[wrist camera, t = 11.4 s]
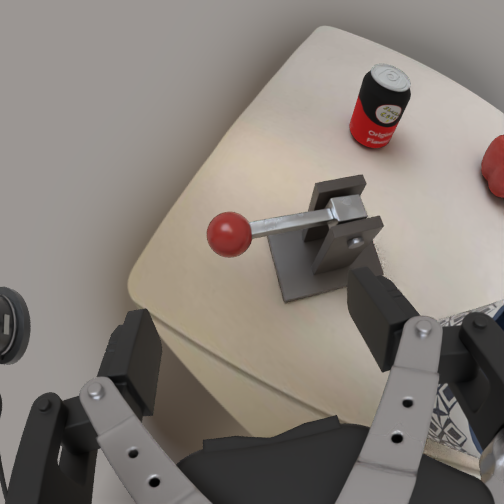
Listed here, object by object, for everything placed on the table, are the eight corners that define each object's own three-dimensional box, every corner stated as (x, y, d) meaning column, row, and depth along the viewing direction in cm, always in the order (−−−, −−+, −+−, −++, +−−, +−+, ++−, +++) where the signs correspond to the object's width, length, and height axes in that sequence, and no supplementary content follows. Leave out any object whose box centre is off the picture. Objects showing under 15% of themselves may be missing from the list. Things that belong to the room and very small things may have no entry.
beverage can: (340, 134, 42) (357, 73, 31) (361, 113, 44) (380, 55, 32) (375, 159, 41) (403, 101, 29) (395, 136, 42) (422, 80, 31)
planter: (448, 459, 27) (515, 488, 14) (372, 393, 31) (432, 412, 18) (510, 362, 31) (583, 353, 17) (446, 291, 35) (517, 257, 21)
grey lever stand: (284, 302, 35) (294, 274, 23) (265, 229, 38) (264, 171, 26) (380, 276, 36) (429, 239, 23) (357, 209, 38) (389, 150, 26)
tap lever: (212, 267, 26) (209, 252, 23) (204, 227, 27) (201, 208, 24) (358, 237, 28) (373, 220, 24) (345, 202, 29) (358, 183, 25)
